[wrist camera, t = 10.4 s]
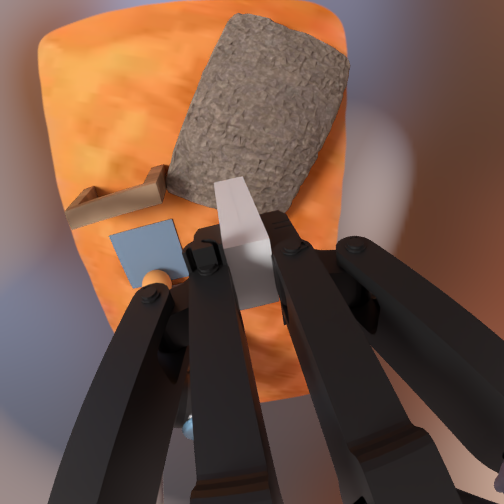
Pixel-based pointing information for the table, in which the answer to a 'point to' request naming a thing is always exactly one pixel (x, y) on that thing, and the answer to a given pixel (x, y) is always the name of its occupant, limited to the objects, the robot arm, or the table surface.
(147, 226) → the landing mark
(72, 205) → the bridge
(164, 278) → the ball
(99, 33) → the table surface
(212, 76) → the stone tablet
